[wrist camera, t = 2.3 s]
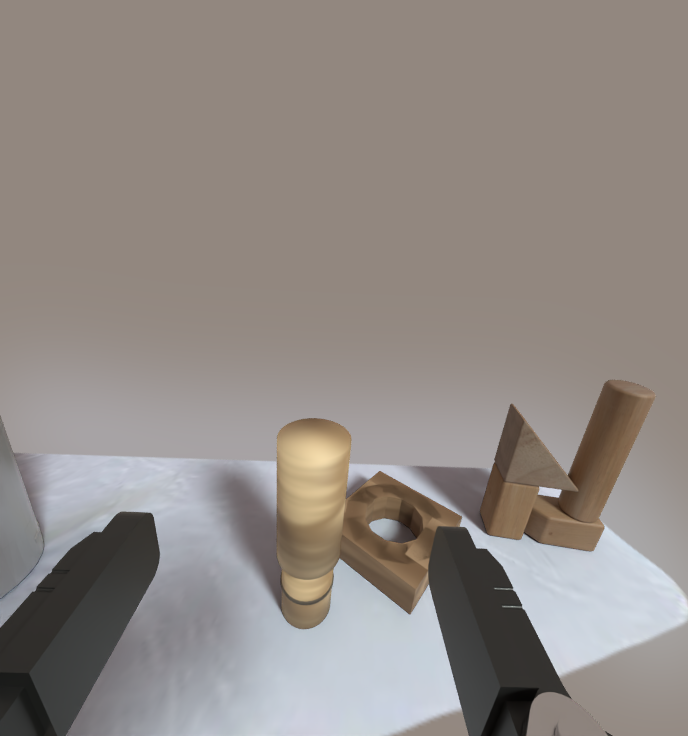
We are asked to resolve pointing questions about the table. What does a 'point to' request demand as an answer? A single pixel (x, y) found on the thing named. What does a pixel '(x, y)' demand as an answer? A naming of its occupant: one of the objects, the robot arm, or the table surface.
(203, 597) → the table surface
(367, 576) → the square wooden ring
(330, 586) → the oak leg
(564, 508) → the wooden block
